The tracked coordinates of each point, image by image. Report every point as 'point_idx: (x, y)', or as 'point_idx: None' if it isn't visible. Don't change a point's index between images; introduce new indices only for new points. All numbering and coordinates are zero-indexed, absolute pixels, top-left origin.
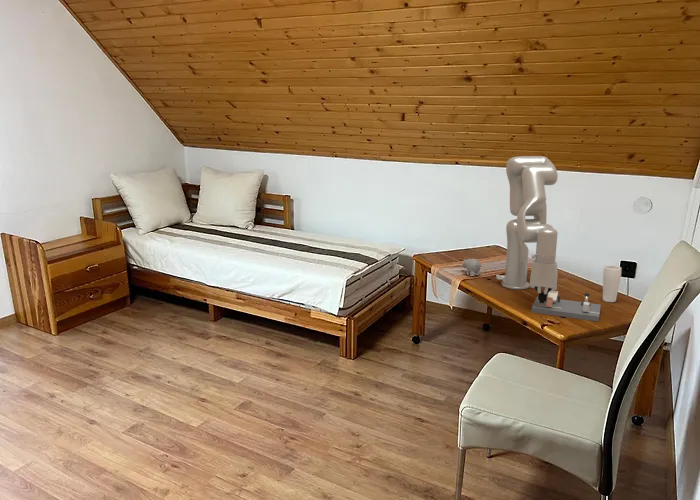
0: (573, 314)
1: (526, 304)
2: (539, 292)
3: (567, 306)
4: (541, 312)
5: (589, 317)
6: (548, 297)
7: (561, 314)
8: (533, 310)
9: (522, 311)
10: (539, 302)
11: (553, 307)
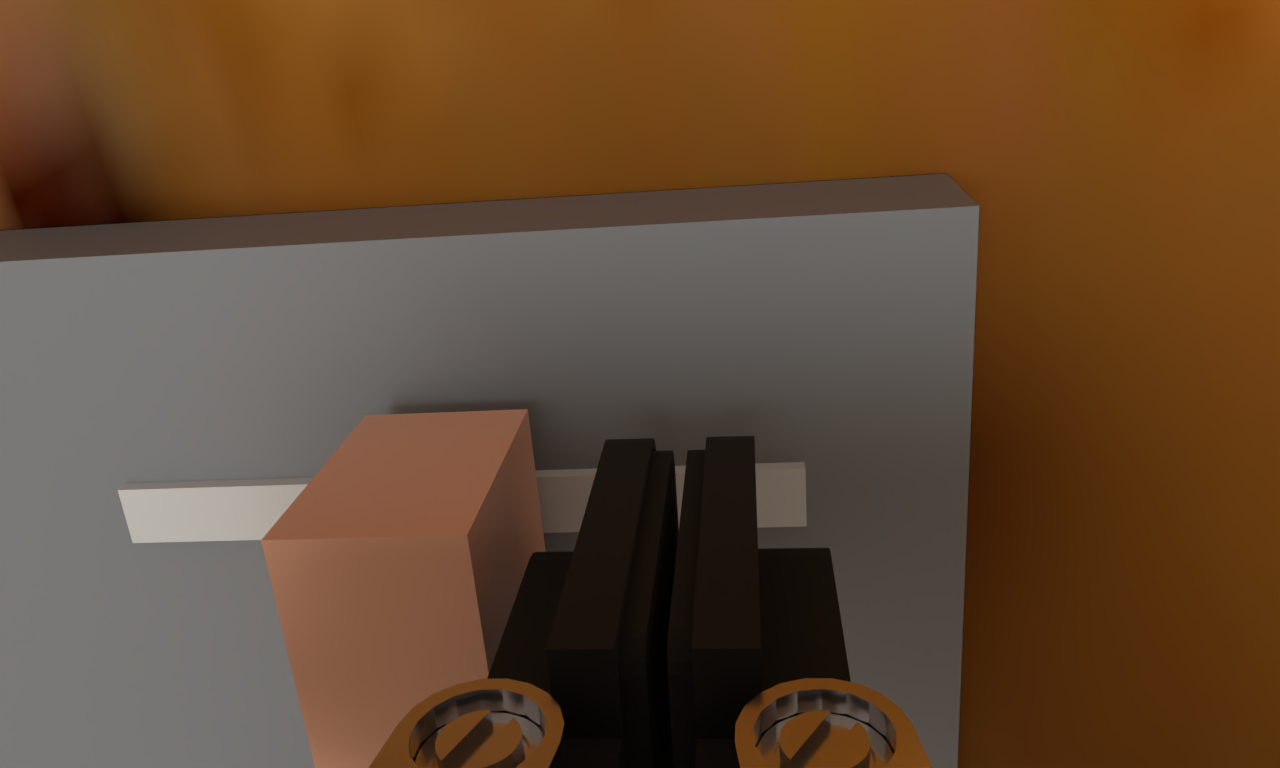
0: None
1: (1147, 705)
2: (813, 728)
3: (72, 724)
4: (648, 198)
5: None
6: None
7: (85, 235)
8: (898, 192)
9: (1232, 101)
10: None
11: None
